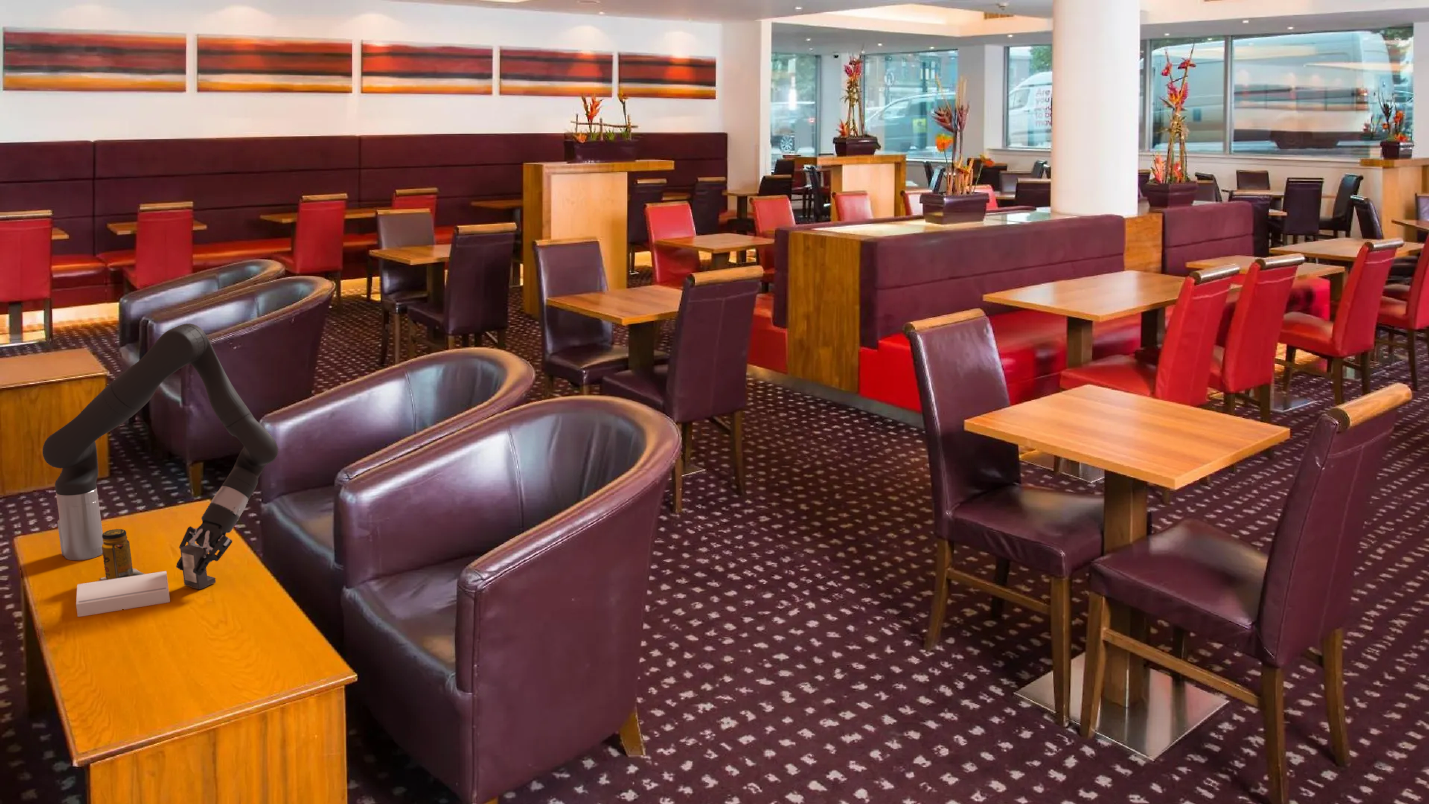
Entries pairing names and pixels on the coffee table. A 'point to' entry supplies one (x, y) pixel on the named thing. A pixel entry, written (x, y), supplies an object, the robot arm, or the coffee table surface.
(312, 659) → the coffee table surface
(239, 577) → the coffee table surface
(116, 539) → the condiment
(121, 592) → the board
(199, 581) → the dark block with lip
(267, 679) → the coffee table surface
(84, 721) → the coffee table surface
